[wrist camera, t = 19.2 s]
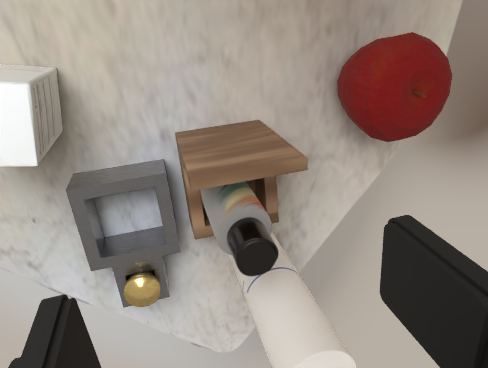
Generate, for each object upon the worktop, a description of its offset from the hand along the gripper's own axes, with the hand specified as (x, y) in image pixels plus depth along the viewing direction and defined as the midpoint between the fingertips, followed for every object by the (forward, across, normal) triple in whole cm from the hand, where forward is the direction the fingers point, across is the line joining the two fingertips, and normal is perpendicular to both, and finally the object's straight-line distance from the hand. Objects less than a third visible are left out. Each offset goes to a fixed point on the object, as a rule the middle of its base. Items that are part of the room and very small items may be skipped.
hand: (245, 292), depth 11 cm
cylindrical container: (+38, -8, +23) cm, 45 cm away
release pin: (+37, +8, +23) cm, 44 cm away
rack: (+38, -5, +12) cm, 40 cm away
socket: (+38, +8, +17) cm, 42 cm away
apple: (+38, -26, +3) cm, 46 cm away
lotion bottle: (+37, -4, +12) cm, 39 cm away
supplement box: (+38, +16, -1) cm, 41 cm away
